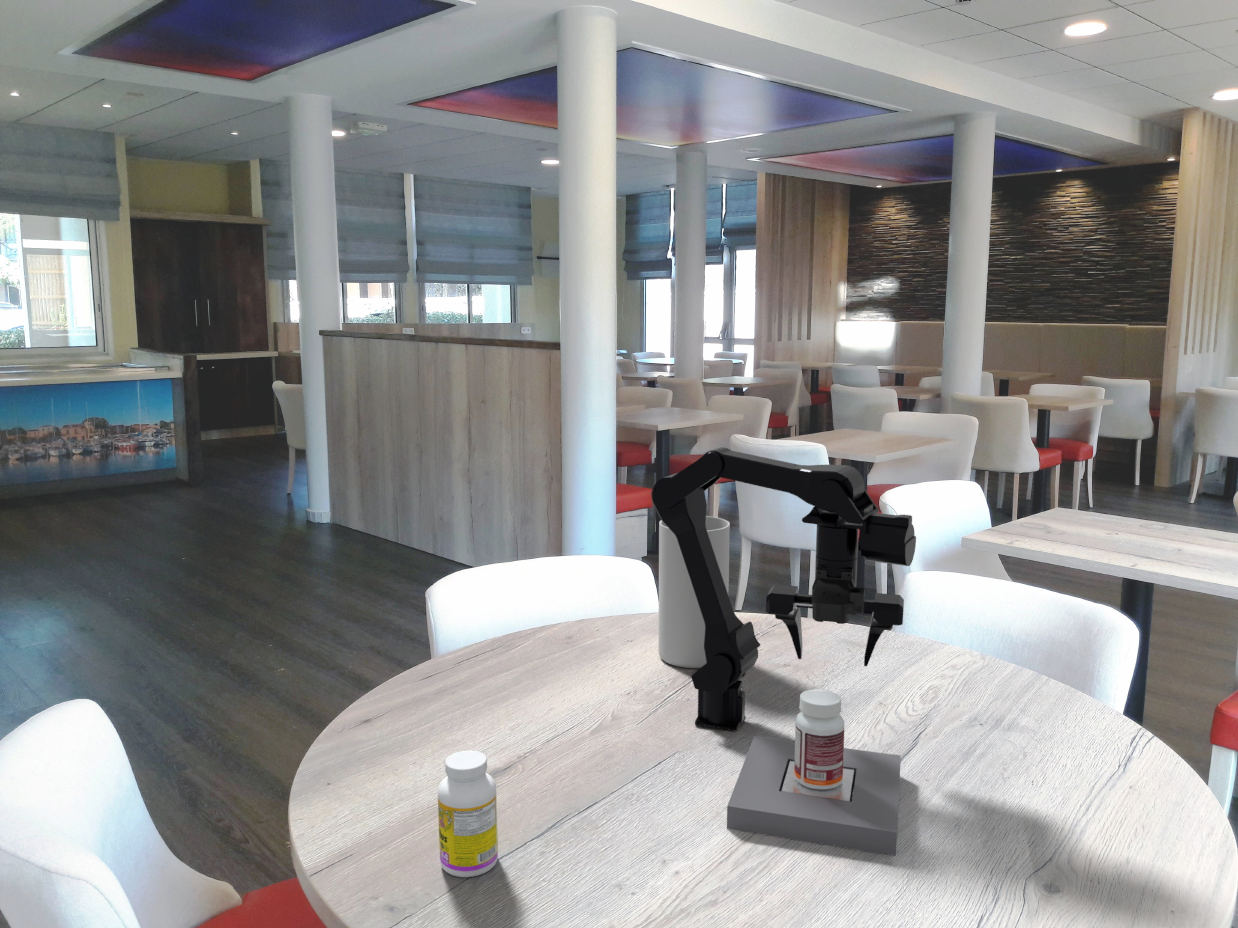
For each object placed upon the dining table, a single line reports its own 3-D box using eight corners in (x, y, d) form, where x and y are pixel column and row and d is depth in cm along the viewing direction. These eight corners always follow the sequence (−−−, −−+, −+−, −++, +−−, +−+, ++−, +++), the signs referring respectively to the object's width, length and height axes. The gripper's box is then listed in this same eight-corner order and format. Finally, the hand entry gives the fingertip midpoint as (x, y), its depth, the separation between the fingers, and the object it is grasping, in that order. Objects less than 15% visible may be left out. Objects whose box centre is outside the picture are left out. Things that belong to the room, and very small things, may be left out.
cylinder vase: (733, 649, 178) (736, 518, 174) (718, 673, 167) (720, 533, 162) (669, 641, 182) (670, 513, 178) (649, 664, 171) (650, 528, 167)
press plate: (726, 828, 118) (727, 805, 117) (753, 755, 137) (754, 735, 136) (895, 855, 112) (897, 832, 111) (899, 775, 131) (900, 755, 130)
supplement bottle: (443, 847, 114) (439, 746, 112) (499, 845, 114) (496, 744, 112) (437, 881, 107) (433, 774, 105) (497, 878, 108) (494, 772, 106)
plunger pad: (780, 812, 122) (781, 790, 121) (789, 780, 129) (790, 760, 129) (848, 822, 119) (849, 801, 119) (853, 790, 127) (854, 769, 126)
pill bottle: (852, 782, 123) (856, 699, 121) (817, 796, 120) (820, 710, 118) (818, 763, 128) (821, 683, 126) (783, 776, 125) (786, 693, 123)
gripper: (761, 565, 130) (758, 675, 132) (904, 577, 124) (899, 691, 127) (773, 545, 140) (770, 647, 143) (906, 555, 135) (900, 661, 137)
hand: (832, 661), depth 137 cm, fingers open, 9 cm apart
